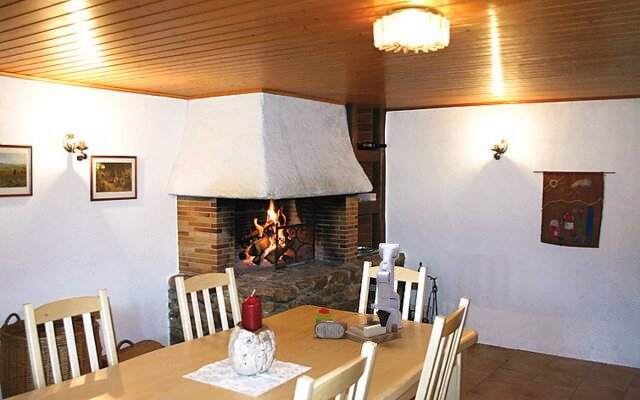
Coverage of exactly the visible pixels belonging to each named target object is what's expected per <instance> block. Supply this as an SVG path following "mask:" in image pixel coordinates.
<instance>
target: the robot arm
mask: <svg viewBox="0 0 640 400" xmlns="http://www.w3.org/2000/svg"><path fill="white" fill-rule="evenodd" d="M400 250H401V248H400V244H399V243H387V242H386V243H382V242H380V243H379V244H378V254H379V256H380V258H381V259H382V261H380V263H379V267H378V271H377V272H376V276H375V277H376V278H375V279H376V280H375V281H376V288H377V292H376V293H377V299H376V300H377V302H376V303H371V304H370V309H375V310H377V311H375V313H376V316H377V318H378V319H379V320H378V321H379V322H380V325H381V327H386V324H387V323H389V328H390V329H391V324H398V330H399V329H401V328H402V329H403V326H402V313H401V311H400V307H401V301H400V297H401V296H400V294H399V293H398V292H396V291H395V262H396V260H399V259H400V252H401V251H400Z"/></svg>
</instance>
